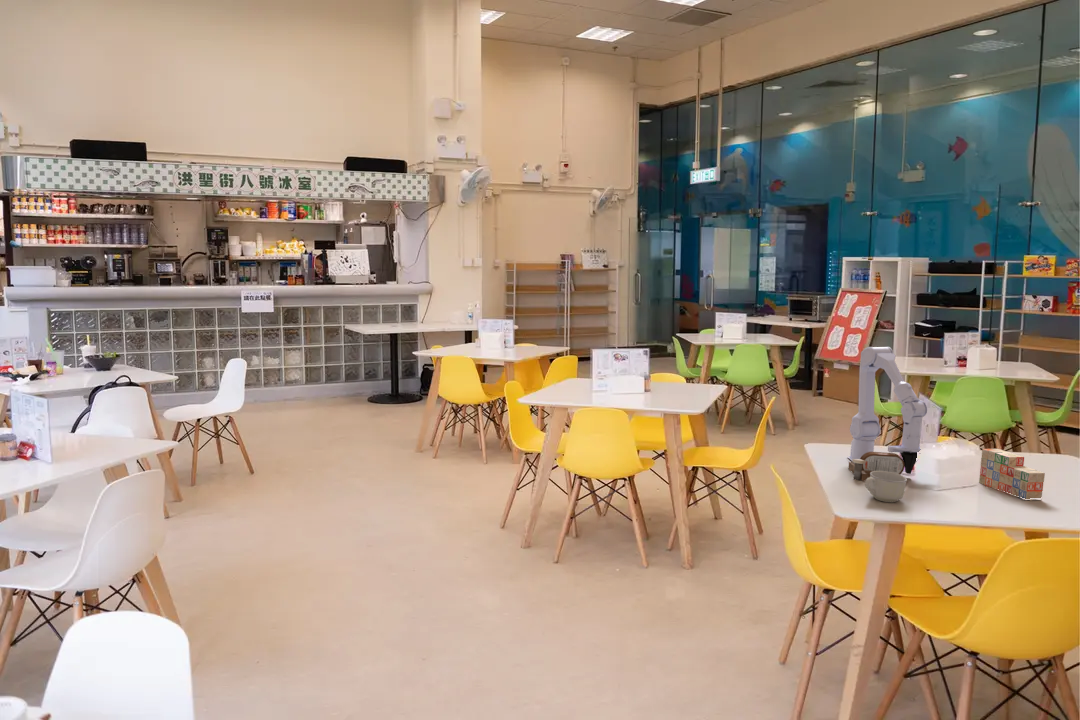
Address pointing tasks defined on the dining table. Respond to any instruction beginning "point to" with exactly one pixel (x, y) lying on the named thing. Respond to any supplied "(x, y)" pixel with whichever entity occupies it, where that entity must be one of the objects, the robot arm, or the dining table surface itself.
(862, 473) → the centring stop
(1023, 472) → the stack of blocks
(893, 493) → the teacup
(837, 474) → the dining table surface
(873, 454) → the tin
